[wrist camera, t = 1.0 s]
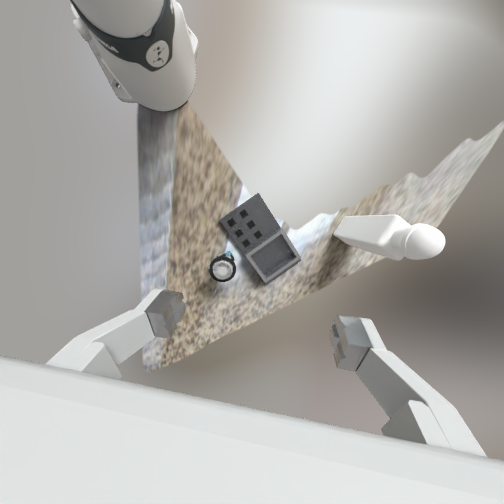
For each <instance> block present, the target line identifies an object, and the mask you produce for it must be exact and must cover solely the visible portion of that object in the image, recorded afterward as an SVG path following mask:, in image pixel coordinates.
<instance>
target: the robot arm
mask: <svg viewBox="0 0 504 504" xmlns="http://www.w3.org/2000/svg"><path fill="white" fill-rule="evenodd" d="M70 1H71V10H72V12H73V14H74V16H75V18H76V19H74V21H73V23H74V25H75V26H76V28H77V30H78V31H79V32H80V34H81V35H82V37H83V38H84V39H85V40H86V41H88V43H89V45H90V47H91V49H92V51H93V52H94V54H95V56H96V58H97V60H98V62H99V64H100V66H101V67H102V69H103V71H104V73H105V75H106V77H107V79H108V81H109V83H110V85H111V86H112V88H113V90H114V92H115V94H116V95H117V96H118V98H119V99H120V100H121V101H123V102H131V103H139V104H141V105H143V106H145V107H147V108H150V109H152V110H156V111H170V110H174V109H176V108H178V107H180V106H182V105H183V104H184V103H185V102H186V101H187V100H188V99H189V97H190V95H191V94H192V91H193V89H194V86H195V79H196V70H195V59H196V56H197V53H198V49H199V44H198V40H197V38H196V36H195V35H194V33H193V32H192V31H191V30H190V29H189V27H188V26H187V24H186V21H185V17H184V13H183V11H182V8H181V6H180V4H179V3H177V2H176V1H175V0H70ZM118 85H120V88H118ZM183 298H184V297H183V293H180V292H175V291H169V290H162V289H153V290H152V291H151V292H150V293H149V294H148V295H147V296H146V298H145V299H144V300H143V301H142V302H141V303H140V304H139V305H138V306H137V307H136V308H135V310H130V311H128V312H126V313H124V314H121V315H120V316H117V317H115V318H113V319H111V320H109V321H107V322H105V323H103V324H101V325H99V326H97V327H95V328H92V329H91V330H89V331H87V332H84V333H82V334H80V335H78V336H76V337H75V338H74V339H73V340H71V341H70V342H69V343H68V344H67V345H66V346H65V347H64V348H62V350H60V351H59V352H58V353H57V354H56V355H55V356H54V357H53V358H51V359H50V360H49V361H48V362H47V363H46V364H40V363H36V362H31V361H26V360H21V359H16V358H11V357H7V356H2V355H0V504H504V461H503V460H498V459H494V458H489V457H487V456H486V454H485V453H484V451H483V450H482V448H481V447H480V445H479V444H478V442H477V441H476V439H475V438H474V436H473V434H472V433H471V431H470V430H469V428H468V427H467V425H466V424H465V422H464V421H463V419H462V418H461V416H460V414H459V413H458V411H457V410H456V408H455V407H454V406H453V405H452V404H450V403H449V402H448V401H447V400H446V399H445V398H444V397H442V396H441V395H440V394H439V393H438V392H437V391H436V390H434V389H433V388H432V387H431V386H430V385H429V384H427V383H426V382H425V381H424V380H423V379H422V378H421V377H419V376H418V375H417V374H416V373H415V372H413V370H411V369H410V368H409V367H408V366H407V365H406V364H405V363H403V362H402V361H401V360H400V359H399V358H398V357H397V356H395V355H394V354H393V353H392V352H391V351H387V350H386V348H385V346H384V344H383V342H382V340H381V338H380V336H379V334H378V332H377V330H376V328H375V326H374V324H373V322H372V321H371V320H370V319H365V318H358V317H351V316H343V315H336V317H335V319H334V321H335V324H334V325H332V327H331V330H330V341H331V345H332V346H333V348H334V349H335V351H334V358H335V363H336V366H337V368H340V369H345V370H350V371H355V372H356V374H357V375H358V376H359V378H360V379H361V380H362V382H363V383H364V384H365V385H366V387H367V388H368V389H369V391H370V392H371V394H372V395H373V396H374V398H375V399H376V400H377V401H378V403H379V404H380V405H381V407H382V408H383V409H384V411H385V412H386V413H387V415H388V416H389V417H390V420H389V421H388V422H387V423H386V424H385V425H384V426H383V427H382V429H381V430H382V432H383V435H379V434H374V433H370V432H365V431H360V430H355V429H350V428H346V427H341V426H336V425H331V424H327V423H322V422H317V421H312V420H307V419H303V418H298V417H293V416H289V415H284V414H279V413H274V412H270V411H265V410H260V409H255V408H251V407H246V406H241V405H236V404H231V403H227V402H221V401H217V400H212V399H207V398H202V397H198V396H193V395H188V394H184V393H179V392H174V391H169V390H165V389H160V388H155V387H150V386H146V385H141V384H136V383H131V382H126V381H122V380H120V378H121V377H122V372H121V370H120V369H119V367H118V365H119V364H120V363H121V362H123V361H124V360H126V359H127V358H128V357H130V356H131V355H132V354H134V353H135V352H136V351H137V350H139V349H140V348H141V347H143V346H144V345H146V344H147V343H148V342H150V341H151V340H152V339H154V338H155V337H162V338H169V339H170V338H171V337H172V335H173V333H174V332H175V330H176V328H177V325H176V324H177V323H178V322H180V321H181V320H182V318H183V317H184V313H185V303H184V302H183V301H182V300H183Z"/></svg>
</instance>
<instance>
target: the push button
mask: <svg viewBox="0 0 504 504" xmlns="http://www.w3.org/2000/svg"><path fill="white" fill-rule="evenodd" d="M233 261H234V257H233V256H232V254H231V252H230V251H228V252H227V253H225V254H223V255H222V253H220V254H219V255H218V257H217V258H215V259H214V260H213V261H212V262H211V264H210V266H209V267H208V268H209V272H210V275H211V277H212V278H213V279H215V280H216V281H219V282H226V281H229V280H230V279H232V278H233V277H234V275H235V273H236V266H235V263H234V262H233ZM231 264H232V266H233V269H232V266H231Z"/></svg>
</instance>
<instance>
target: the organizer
mask: <svg viewBox="0 0 504 504" xmlns="http://www.w3.org/2000/svg"><path fill="white" fill-rule="evenodd" d="M219 221H220V222H221V223H222V225H223V226H224V227H225V229H226V230H227V232H228V233H229V234H230V236H231V237H232V238H233V240H234V241H235V243H236V244H237V245H238V247H239V248H240V249H241V251H242V252H243V254H244V255H245V256H246V258H247V259H248V260H249V262H250V263H251V265H252V266H253V267H254V269H255V270H256V271H257V273H258V274H259V276H260V277H261V278H262V280H263V281H264V282H265V284H266V285H267V284H268V283H270V282H271V281H272V280H274V279H275V278H277V277H278V276H280V275H281V274H282V273H284V272H285V271H287V270H288V269H290V268H291V267H292V266H294V265H295V264H297V263H298V262H299V261H301V259H300V258H301V257H300V256H299V254H298V252H297V251H296V249H295V248H294V246H293V244H292V243H291V241H290V240H289V238H288V236H287V235H286V233H285V232H284V230H283V229H281V228H280V226H279V225H278V223H277V221H276V220H275V218H274V217H273V215H272V214H271V212H270V210H269V209H268V208H267V206H266V204H265V203H264V201H263V199H262V198H261V196H260V195H259V193H257V194H256V195H254V196H253V197H252V198H250V199H249V200H247V201H246V202H245V203H243V204H242V205H240V206H239V207H237V208H236V209H235V210H233V211H232V212H230V213H229V214H228V215H226V216H225V217H223V218H222V219H221V220H219Z"/></svg>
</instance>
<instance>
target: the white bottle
mask: <svg viewBox="0 0 504 504" xmlns="http://www.w3.org/2000/svg"><path fill="white" fill-rule="evenodd" d="M333 235H334V236H336V237H337V238H339V239H340V240H342V241H343V242H345V243H346V244H348V245H351V246H354V247H357V248H360V249H363V250H366V251H369V252H372V253H375V254H378V255H381V256H384V257H387V258H390V259H393V260H397V261H399V260H401V259H402V258H403V256H405V257H407V258H409V259H415V260H418V259H427V258H431V257H434V256H436V255H437V254H439V253H440V252H441V251H442V250H443V248H444V246H445V238H444V235H443V234H442V233H441V232H440V231H439V230H438V229H436V228H434V227H431V226H430V225H427V224H421V223H419V224H415V225H412V226H411V225H410V224H408V223H407V222H406V221H405V220H403V219H402V218H401V217H400V216H398V215H370V216H344V218H343V219H342V221H341V222H340V224H339V225H338V227H337V228H336V230H335V231H334V233H333Z"/></svg>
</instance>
